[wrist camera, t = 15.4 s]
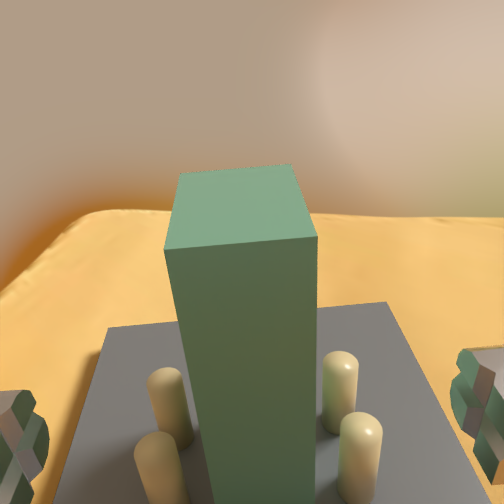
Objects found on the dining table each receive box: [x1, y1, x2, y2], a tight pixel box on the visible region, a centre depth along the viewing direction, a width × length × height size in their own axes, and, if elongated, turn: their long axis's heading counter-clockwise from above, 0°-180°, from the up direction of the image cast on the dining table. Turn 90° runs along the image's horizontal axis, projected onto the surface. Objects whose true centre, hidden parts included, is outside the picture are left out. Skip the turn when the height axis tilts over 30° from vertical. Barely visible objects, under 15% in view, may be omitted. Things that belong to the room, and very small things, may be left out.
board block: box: [164, 164, 318, 504], centre depth 13 cm, size 3×4×10 cm
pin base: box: [53, 302, 491, 504], centre depth 15 cm, size 14×16×4 cm
